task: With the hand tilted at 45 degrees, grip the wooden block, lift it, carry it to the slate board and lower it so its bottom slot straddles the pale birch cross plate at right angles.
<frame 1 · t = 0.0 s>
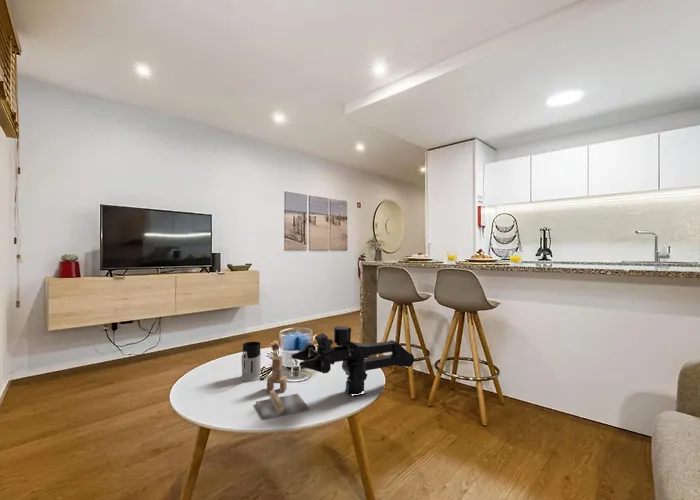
hand: (295, 360, 120), 17 cm above the table, tool horizontal, fingers open, 9 cm apart
wooden block: (276, 389, 133), on the table
glass holder: (248, 380, 143), on the table
cross plate base: (276, 408, 118), on the table
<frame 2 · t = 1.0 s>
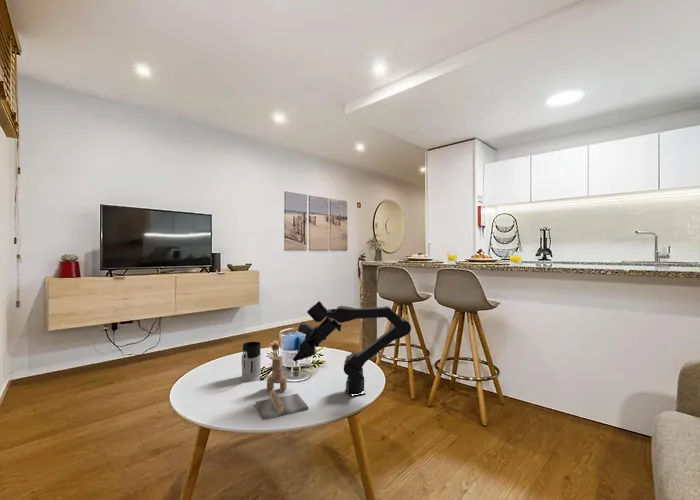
hand: (295, 356, 133), 14 cm above the table, tool tilted 45°, fingers open, 9 cm apart
nothing on the table moved.
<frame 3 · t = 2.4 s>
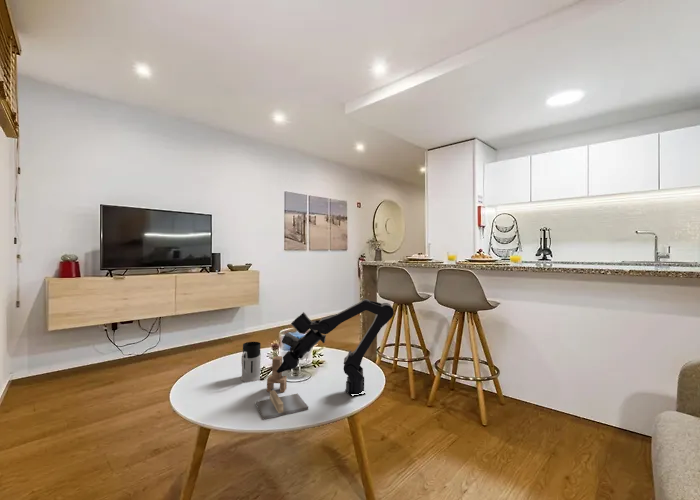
hand: (280, 367, 133), 9 cm above the table, tool tilted 45°, fingers open, 9 cm apart
nothing on the table moved.
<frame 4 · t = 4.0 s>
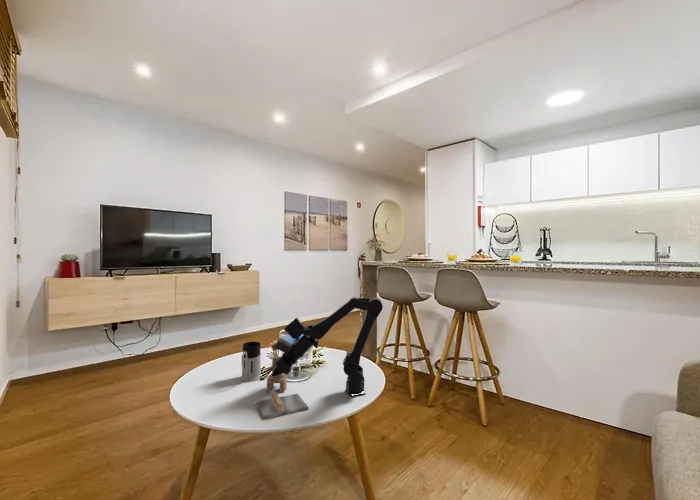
hand: (273, 373, 133), 7 cm above the table, tool tilted 45°, fingers closed on wooden block, 4 cm apart
wooden block: (276, 389, 133), on the table, touching gripper
everything else where it was.
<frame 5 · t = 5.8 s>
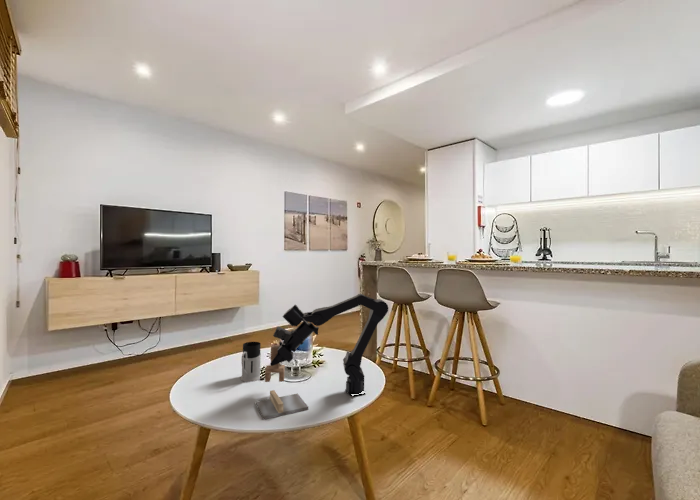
hand: (271, 363, 129), 12 cm above the table, tool tilted 45°, fingers closed on wooden block, 4 cm apart
wooden block: (274, 379, 129), point 6 cm above the table, touching gripper
everything else where it was.
when the fingers open (8 cm above the table, at t = 8.1 s): wooden block stays where it is, resting on cross plate base.
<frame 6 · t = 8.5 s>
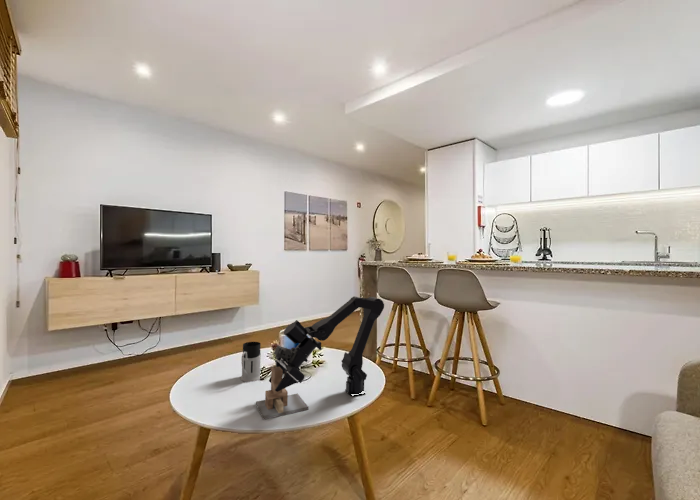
hand: (272, 386, 117), 8 cm above the table, tool tilted 45°, fingers open, 8 cm apart
wooden block: (276, 405, 118), point 1 cm above the table, touching cross plate base
everything else where it was.
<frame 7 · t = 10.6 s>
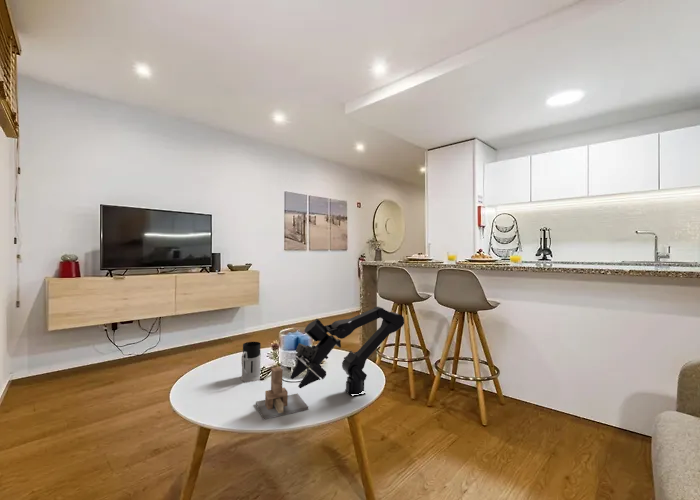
hand: (295, 382, 121), 8 cm above the table, tool tilted 45°, fingers open, 9 cm apart
nothing on the table moved.
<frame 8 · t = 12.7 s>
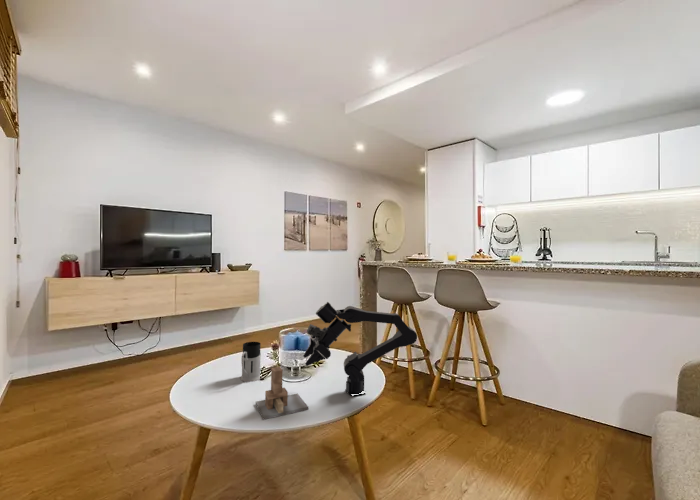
hand: (304, 360, 129), 14 cm above the table, tool tilted 45°, fingers open, 9 cm apart
nothing on the table moved.
at the end: wooden block 0.0 cm off-centre on the cross plate base, point 1.0 cm above the cross plate base's base; wooden block tilted 0°; the gripper is holding nothing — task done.
